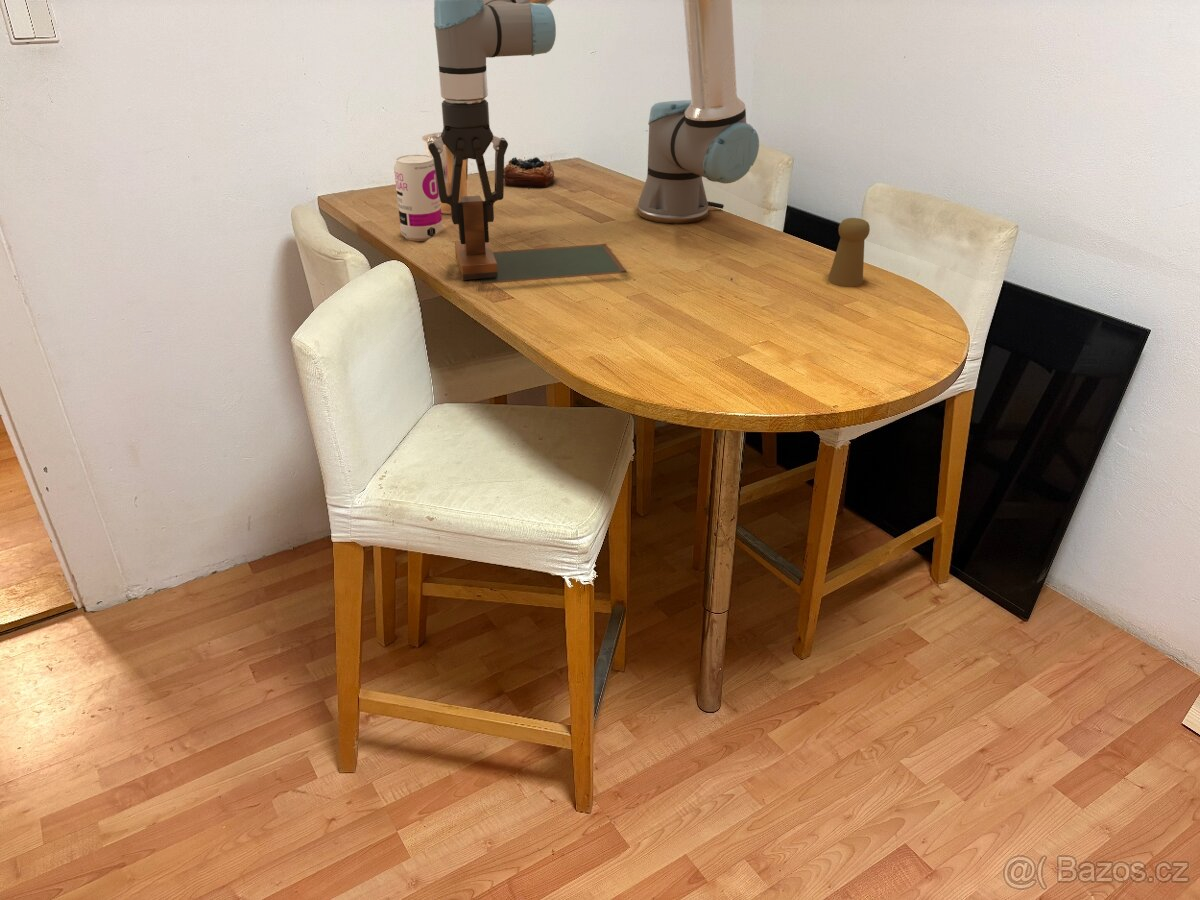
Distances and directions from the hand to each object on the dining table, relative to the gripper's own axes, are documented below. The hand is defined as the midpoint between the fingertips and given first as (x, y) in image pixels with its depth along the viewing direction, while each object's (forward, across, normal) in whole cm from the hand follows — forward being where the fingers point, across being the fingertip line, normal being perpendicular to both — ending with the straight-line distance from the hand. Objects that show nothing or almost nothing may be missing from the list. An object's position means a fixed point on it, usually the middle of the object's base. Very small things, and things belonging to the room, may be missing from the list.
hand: (474, 240), depth 152 cm
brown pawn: (+6, -64, +17) cm, 67 cm away
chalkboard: (+6, -13, 0) cm, 14 cm away
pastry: (+6, -20, -60) cm, 64 cm away
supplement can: (+6, +8, -24) cm, 26 cm away
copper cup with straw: (+6, 0, -40) cm, 41 cm away
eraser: (+5, 0, 0) cm, 5 cm away
